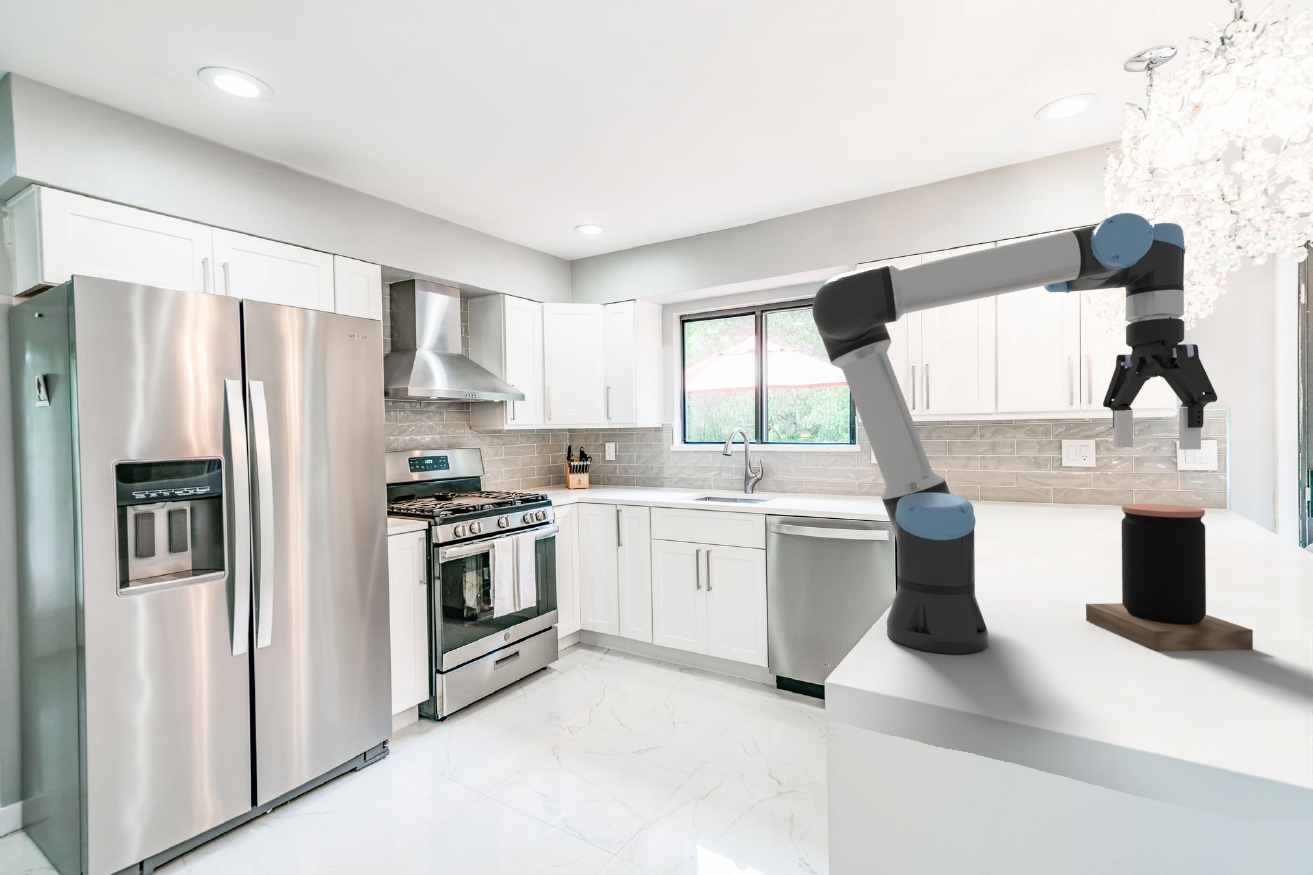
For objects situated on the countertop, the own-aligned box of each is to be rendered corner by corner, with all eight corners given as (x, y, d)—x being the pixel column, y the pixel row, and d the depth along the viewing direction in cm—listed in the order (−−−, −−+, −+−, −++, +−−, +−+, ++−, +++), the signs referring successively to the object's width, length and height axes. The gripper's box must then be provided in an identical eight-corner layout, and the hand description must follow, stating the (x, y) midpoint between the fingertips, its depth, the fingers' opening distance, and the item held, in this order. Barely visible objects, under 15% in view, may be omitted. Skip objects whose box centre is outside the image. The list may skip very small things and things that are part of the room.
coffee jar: (1225, 625, 95) (1224, 511, 95) (1155, 626, 96) (1154, 512, 95) (1169, 606, 106) (1168, 503, 106) (1107, 606, 106) (1106, 504, 106)
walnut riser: (1155, 650, 93) (1155, 631, 93) (1086, 620, 108) (1086, 603, 108) (1252, 649, 93) (1252, 630, 93) (1170, 619, 108) (1170, 602, 108)
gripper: (1249, 304, 88) (1249, 450, 89) (1120, 332, 113) (1120, 446, 114) (1197, 305, 89) (1198, 450, 89) (1080, 333, 113) (1080, 446, 114)
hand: (1154, 448), depth 101 cm, fingers open, 13 cm apart
